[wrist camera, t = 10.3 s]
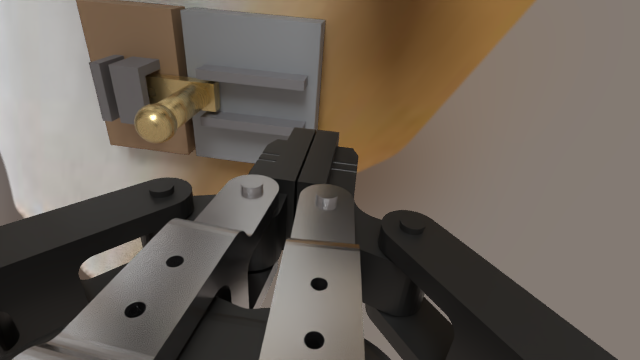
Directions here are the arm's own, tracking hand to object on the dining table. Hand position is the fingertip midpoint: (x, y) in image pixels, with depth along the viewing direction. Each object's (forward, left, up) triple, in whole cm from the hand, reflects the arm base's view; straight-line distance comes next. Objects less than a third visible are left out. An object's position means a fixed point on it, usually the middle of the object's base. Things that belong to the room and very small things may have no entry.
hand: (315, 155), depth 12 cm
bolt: (-9, -17, -26) cm, 32 cm away
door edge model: (-8, -16, -29) cm, 34 cm away
